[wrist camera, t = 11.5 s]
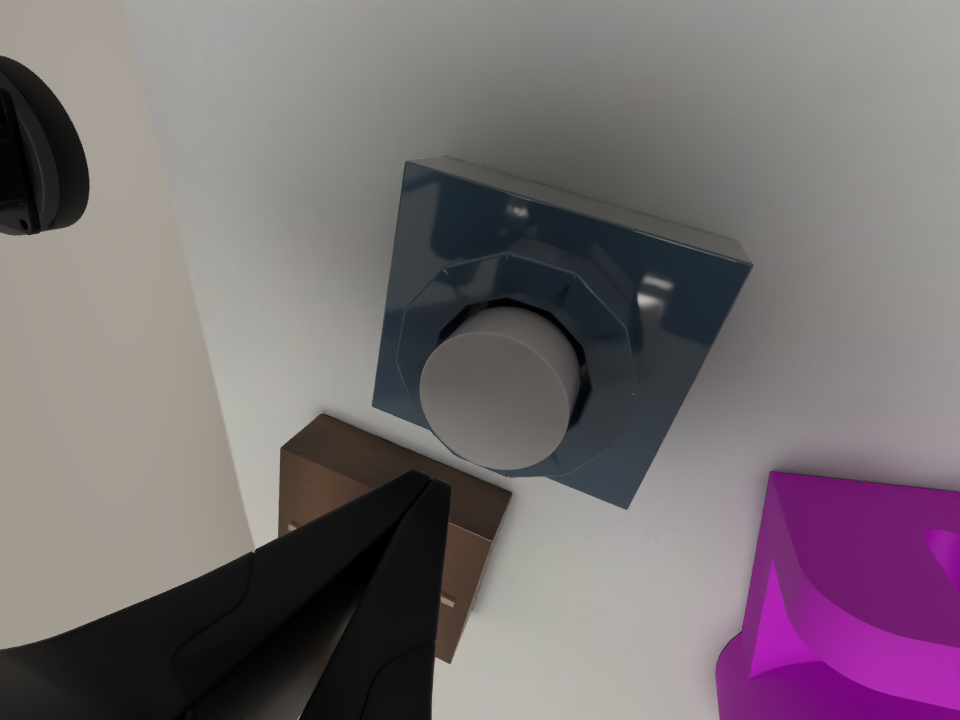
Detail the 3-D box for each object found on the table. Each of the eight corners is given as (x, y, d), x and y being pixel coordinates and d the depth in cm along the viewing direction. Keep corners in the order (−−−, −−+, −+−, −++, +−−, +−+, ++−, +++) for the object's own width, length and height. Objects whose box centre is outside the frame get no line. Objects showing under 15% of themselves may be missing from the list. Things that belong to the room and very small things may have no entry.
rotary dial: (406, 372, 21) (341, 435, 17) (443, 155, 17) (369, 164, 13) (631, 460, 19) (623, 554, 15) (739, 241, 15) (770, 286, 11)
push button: (437, 402, 16) (408, 437, 14) (462, 286, 14) (432, 310, 12) (556, 449, 15) (542, 492, 13) (601, 334, 13) (591, 366, 11)
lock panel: (311, 537, 28) (274, 580, 26) (321, 413, 24) (277, 449, 21) (471, 612, 26) (449, 667, 24) (512, 493, 22) (491, 544, 19)
